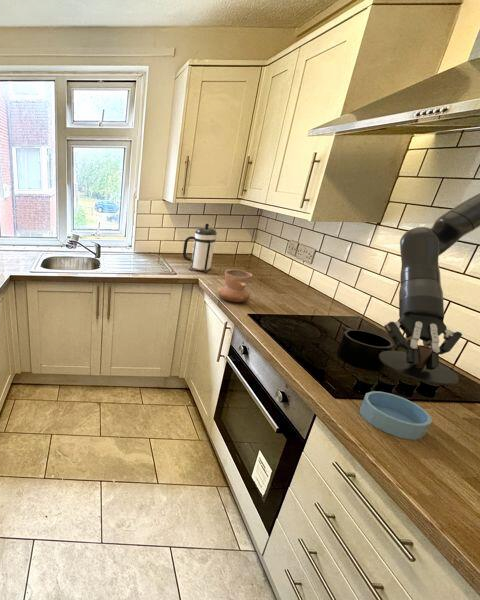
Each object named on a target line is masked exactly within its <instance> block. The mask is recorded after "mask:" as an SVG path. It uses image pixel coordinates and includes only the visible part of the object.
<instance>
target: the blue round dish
mask: <svg viewBox="0 0 480 600" xmlns="http://www.w3.org/2000/svg"><path fill="white" fill-rule="evenodd" d="M359 414H360V416H361V417H362V418H363V419H364V420H365V421H366V422H368V423H369V424H370V425H371V426H372V427H374V428H376V429H377V430H380V431H381V432H383V433H386V434H388V435H390V436H392V437H393V436H394V437H396V438H400V439H404V440H413V441H414V440H420V439H422V438H423V437H424V436H426V434H427V432H428V430H429V428H430V426H432V425H431V424H432V423H433V419H432V416H431V415H430V414H429V412H428V411H427V410H425V409H424V408H423V407H421V406H420V405H418V404H417V403H415V402H413V401H411V400H409V399H407V398H405V397H402V396H399V395H397V394H393V393H389V392H384V391H379V390H378V391H369V392H366V393H365V394H364V396H363V399H362V401H361V404H360V407H359Z"/></svg>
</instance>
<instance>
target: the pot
mask: <svg viewBox="0 0 480 600" xmlns="http://www.w3.org/2000/svg"><path fill="white" fill-rule="evenodd" d="M342 331H343V332H344V333H343V335H342V338H341V341H340V343H339V346H338V349H337V352H336V356H337V358H338V359H340V360H341V361H343V362H344V363H346V364H348V365H350V366H352V367H356V368H358V369H362V370H367V371H380V370H383V369H384V367H385V365H384V364H383V363H382V362H381V361H380V360H379V354H380V353H381V352H384V351H393V348H394V342H393V341H391V340H390V339H388V338H387V337H385V336H382V335H380V334H377V333H375V332H371V331H367V330H362V329H353V328H351V327H343V329H342Z"/></svg>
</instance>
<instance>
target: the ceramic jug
mask: <svg viewBox="0 0 480 600" xmlns="http://www.w3.org/2000/svg"><path fill="white" fill-rule="evenodd" d="M252 278H253V274H252V272H251V273H250V272H249V271H246V270H242V269H237V268H229V269H226V270H225V271H224V280H225V282H224V283H225V286H222V287H221V288H219V290H218V296H219V297H220V298H221V299H223V300H225V301H226V302H229V303H235V304H237V303H238V304H239V303H246V302H247V301H249V300H250V298H251V293H250V291H249V290H247V289H246V287H247V286H248V285H249V283H250V281H252Z"/></svg>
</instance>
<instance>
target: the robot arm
mask: <svg viewBox="0 0 480 600" xmlns="http://www.w3.org/2000/svg"><path fill="white" fill-rule="evenodd" d="M478 228H480V192H479V193H477V194H475V195H473V196H471V197H469V198H467V199H465V200H464V201H463V202H461V203H459V204H458V205H456V206H454V207H453V208H451V209H449V210H448V211H446V212H444V213H443V214H442V215H440V216H439V217H438V218H437V219H436V220H435V222H434V223H433V225H432V226H431V228H430V227H427V226H417V227H413V228H411V229H408V230H407V231H405V232H404V233H403V235H402V236H401V237H400V239H399V250H400V261H401V268H400V276H399V277H400V278H399V279H400V283H399V284H400V285H399V286H400V287H399V290H398V316H399V318H398V319H397V321H389V322H387V323H385V324H384V326H383V327H384V329H385V331H386V332H387V334H388V336H389V337H390V339H391V340H392V341H391V342H392V343H393V345H395V347H396V348H402V349H403V350H404V351H405V352H406V361H407V363H409V366H413V367H414V366H417V365H418V364H419V359H418V350H417V348H418V346H419V345H418V343H419V340H420V341H422V345H423V346H427V347H430V348H432V349H433V351H432V353H431V355H430V357H429V359H428V361H427V363H426V369H428V370H433V369H435V368H436V367H438V366H439V363H440V355H444V354H447V353H449V352H451V351H452V350H453V348H454V347H455V346H456V344H457V343H458V341H459V340H460V339H461V338H462V336H463V333H462V332H461V331H455V332H454V331H452V330H450V329H448V327H447V325H446V324H445V321H444V319H445V308H444V307H445V306H444V301H445V299H444V292H443V291H444V290H443V288H442V281H441V270H440V265H439V257H440V256H441V255H442V254H443V253H445V252H446V251H447V250H448V249H450V248H451V247H452V246H453V245H455V244H456V243H457V242H458V241H459V240H460V239H462V238H463V237H464V236H466V235H468V234H470V233H471V232H473V231H475V230H477V229H478ZM400 329H401V330H402V331H403V333H404V334H405V336H404V335H403V333H402V331H401V330H400ZM442 334H443V336H442V337H443V341H442V343H441V344H440V337H439V336H441V335H442Z"/></svg>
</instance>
